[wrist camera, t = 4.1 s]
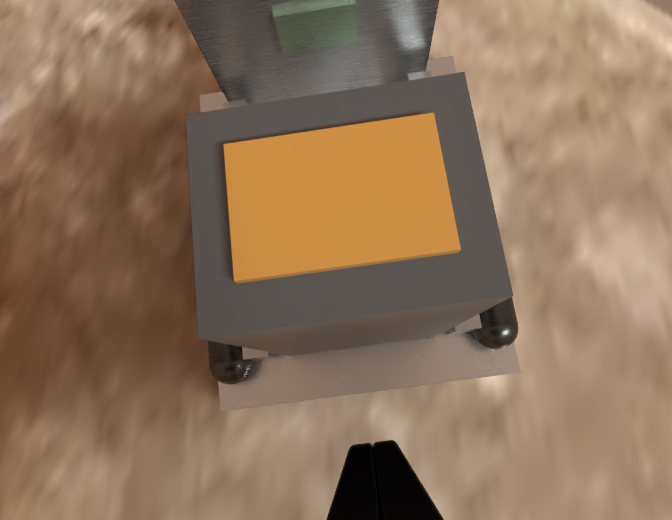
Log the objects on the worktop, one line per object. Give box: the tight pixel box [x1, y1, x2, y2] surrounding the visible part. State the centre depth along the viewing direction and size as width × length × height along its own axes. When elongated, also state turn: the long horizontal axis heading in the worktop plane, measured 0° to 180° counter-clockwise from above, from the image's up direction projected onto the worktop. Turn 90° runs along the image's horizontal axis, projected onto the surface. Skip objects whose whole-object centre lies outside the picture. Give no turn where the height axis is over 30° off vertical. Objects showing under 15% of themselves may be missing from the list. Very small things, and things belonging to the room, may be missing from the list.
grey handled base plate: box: [175, 0, 520, 411], centre depth 15 cm, size 12×10×7 cm
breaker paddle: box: [185, 72, 513, 356], centre depth 12 cm, size 4×5×9 cm
